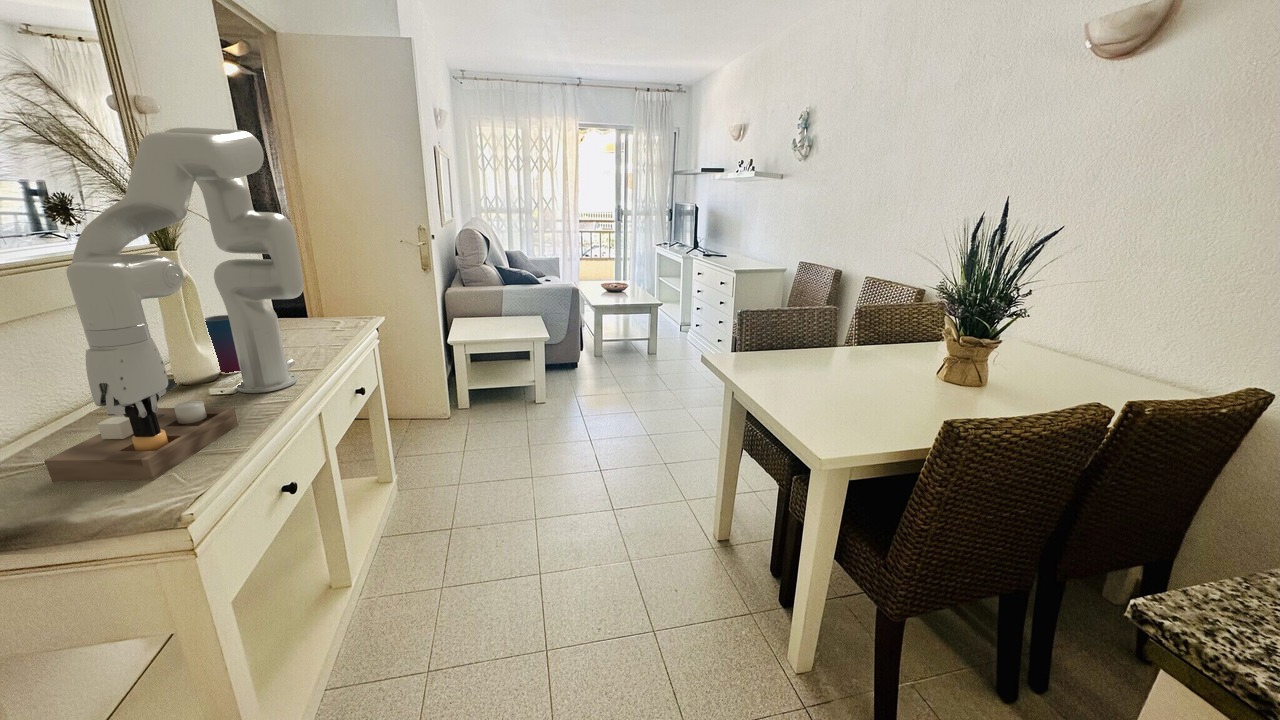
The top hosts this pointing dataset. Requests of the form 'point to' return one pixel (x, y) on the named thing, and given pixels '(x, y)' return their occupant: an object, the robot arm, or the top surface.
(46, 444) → the top surface
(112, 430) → the slider knob
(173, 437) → the control panel
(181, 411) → the grey button
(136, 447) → the orange button
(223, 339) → the cup
